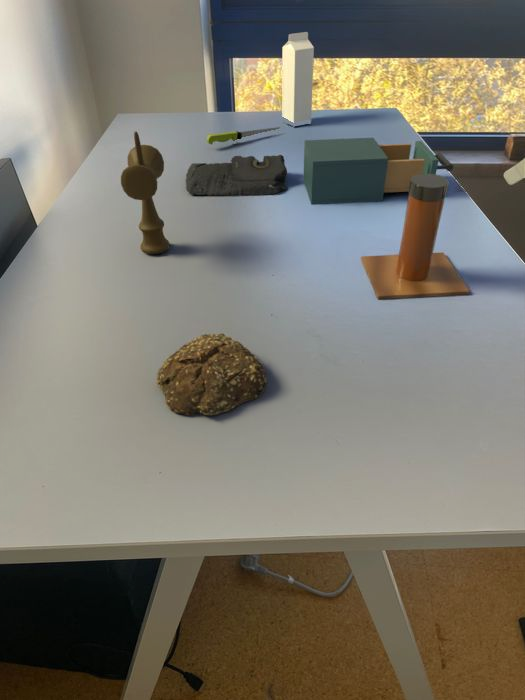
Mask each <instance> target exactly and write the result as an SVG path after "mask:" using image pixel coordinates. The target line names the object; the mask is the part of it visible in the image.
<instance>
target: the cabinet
mask: <svg viewBox="0 0 525 700" xmlns="http://www.w3.org/2000/svg"><path fill="white" fill-rule="evenodd" d="M379 145H380V144H379V143H378V142H377V141H376V139H375V138H374V137H353V138H328V139H304V148H303V149H304V150H303V151H304V152H303V177H302V181H303V180H304V181H303V183H304V186H305V190H306V193H307V196H308V199H309V202H310V204H311V205H324V204H327V205H328V204H347V203H348V204H349V203H369V202H371V203H372V202H383V200H384V194H385V193H384V187H385V179H386V172H387V165H388V157H387V156H386V154H385V153H384V152H383V150H382V149H381V148H380V146H379Z"/></svg>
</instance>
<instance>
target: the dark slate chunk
mask: <svg viewBox="0 0 525 700" xmlns="http://www.w3.org/2000/svg"><path fill="white" fill-rule="evenodd" d="M262 158H263V159H262V161H259V160H258V159H257V158H256V157H255V156H254V155H248V156H242V155H234V156H233V157H231V160H230V162H220V163H219V162H214V163H207V162H204V163H203V162H198V163H197V162H194V163H191V164H190V165H189V167H188V169H187V171H186V172H187V173H186V174H185V175H186V176H185V177H186V178H185V189H186V191H187V192H188V194H189V195H195V196H203V195H210V196H209V197H212V196H211V195H215V196H214V197H218V196H217V195H242V196H266V195H276V194H278V193H280V192H283V191H285V192H286V191H287V189H288V186H287V185H286V181H287V175H288V169H287V166H286V164H285V161H286V160H285V157H284V155H282V154H278V155H264V156H263V157H262ZM286 186H287V187H286ZM264 194H265V195H264Z"/></svg>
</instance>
